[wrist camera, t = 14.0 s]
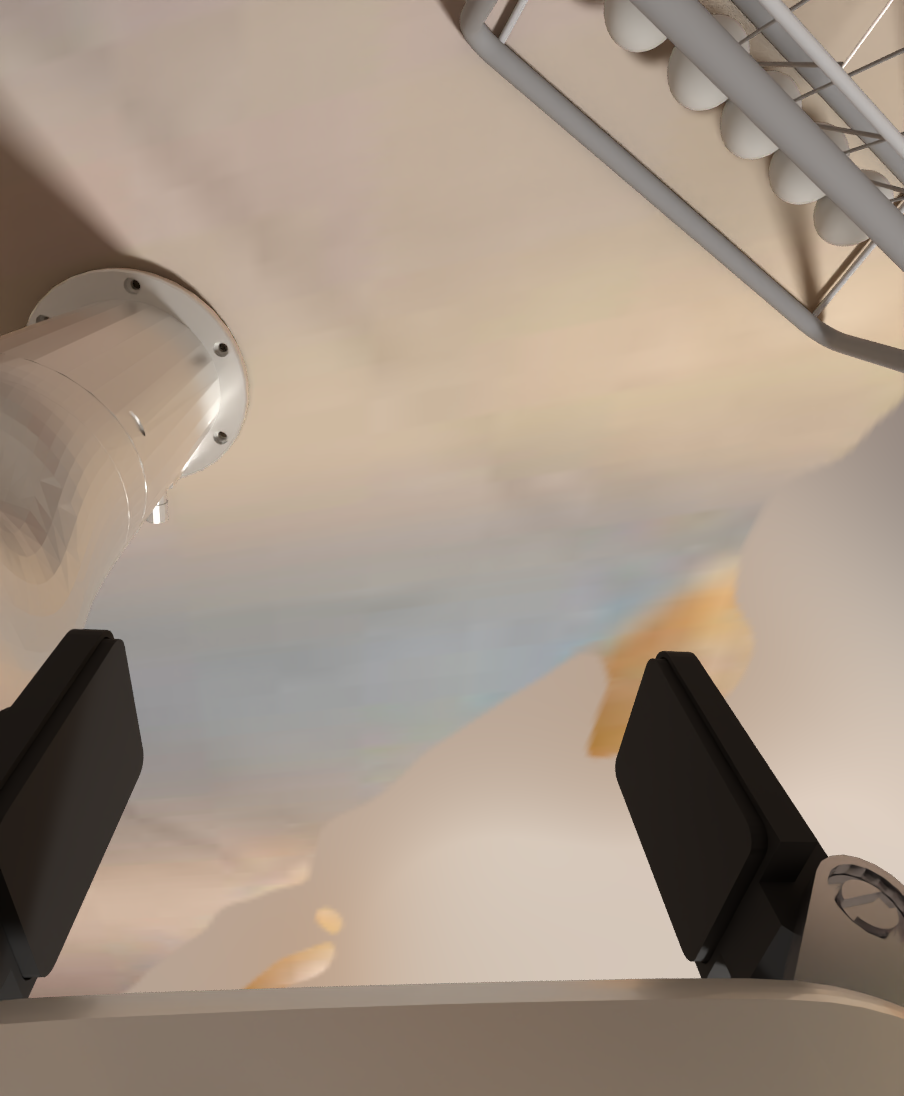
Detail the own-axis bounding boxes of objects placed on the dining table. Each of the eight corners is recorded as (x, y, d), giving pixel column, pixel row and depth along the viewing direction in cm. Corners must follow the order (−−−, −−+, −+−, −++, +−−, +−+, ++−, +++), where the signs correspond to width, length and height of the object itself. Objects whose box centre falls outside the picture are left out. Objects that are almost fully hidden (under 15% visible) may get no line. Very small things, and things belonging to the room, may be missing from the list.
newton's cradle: (449, 34, 32) (523, -121, 17) (572, -207, 29) (810, -688, 13) (818, 348, 43) (1073, 430, 27) (943, 200, 39) (1321, 198, 24)
